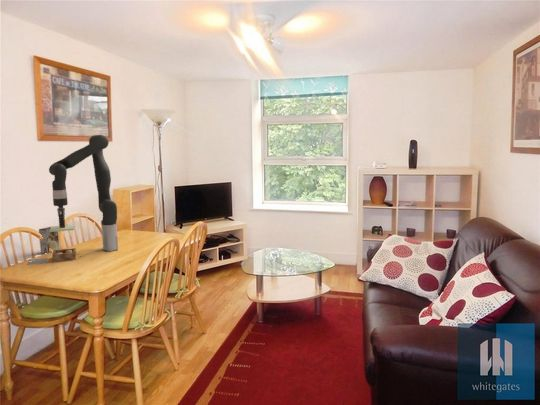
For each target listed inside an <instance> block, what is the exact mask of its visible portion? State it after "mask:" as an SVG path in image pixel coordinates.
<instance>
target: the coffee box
mask: <svg viewBox="0 0 540 405" xmlns="http://www.w3.org/2000/svg"><path fill="white" fill-rule="evenodd" d="M50 228H51V226H47V227H43V228H39V229H38V233H40V234H41V235H42V237H43V241H42V240H41V239H40V238H39V244H40V245H39V247H40V253H42V254H51V253H50V251H49V248H51V249H52V250H53V251H54V250H61V249H60V240H59V231H57V232H49V230H50Z"/></svg>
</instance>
